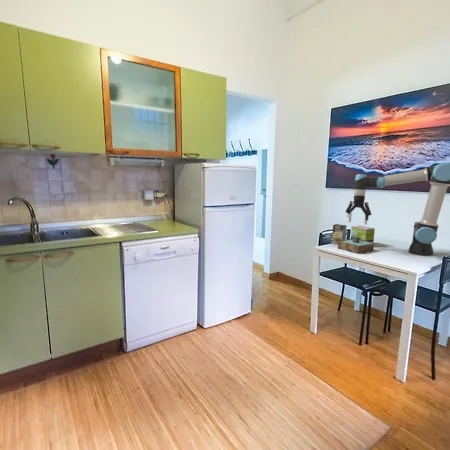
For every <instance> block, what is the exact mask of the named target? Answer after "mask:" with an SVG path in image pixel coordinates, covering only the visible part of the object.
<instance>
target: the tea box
mask: <svg viewBox="0 0 450 450" xmlns="http://www.w3.org/2000/svg"><path fill="white" fill-rule="evenodd" d="M375 230H376V228H374V227H369V226H365V225H353V226H351V229H350V231H351V232H350V239H353V237H360V240H363V241H367V242H372V243H374V240H375Z"/></svg>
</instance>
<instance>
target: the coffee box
mask: <svg viewBox="0 0 450 450" xmlns="http://www.w3.org/2000/svg"><path fill="white" fill-rule="evenodd" d="M331 234H332V238H331V244H335V245H338V241H340V240H346V238H347V236H346V235H347V224H346V225H345V224H338V223H336V224H332V233H331Z"/></svg>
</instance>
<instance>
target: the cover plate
mask: <svg viewBox="0 0 450 450" xmlns="http://www.w3.org/2000/svg"><path fill="white" fill-rule="evenodd" d="M345 240H346V241H342V242H346V243H350V244H355V245H359V247H360V246H365V245H371V244H372V243H369V242H364V241H359V240H360V237H353V240H347V239H345Z"/></svg>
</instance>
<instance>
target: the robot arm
mask: <svg viewBox="0 0 450 450" xmlns="http://www.w3.org/2000/svg"><path fill="white" fill-rule="evenodd" d="M421 181H426V182H429V184H430V189H429V192H428V196H427V200H426V203H425V206H424V210H423V214H422V217H421V220H419V221H415V222H414V224H413V234H412V242H411V243H410V246H409V248H408V253H410V254H413V255H418V256H419V255H420V256H427V257H428V256H433V255H434V248H433V244H432V243H434V241H436V240H437V238H438V234H437V233H438V229H439V226H440V225H439V224H438V219H439V217H440V216H439V215H440V214H441V210H442V206H443V203H444V200H445V197H446V193H447V190H448V188H449V187H450V163H449V162H440V163H438V164H436V165H433V166H428V167H424V169H419V170H411V171H407V172H400V173H395V174H388V175H382V176H368V175H367V174H364V173H363V174H362V173H361V174H359V173H357V174H356V175H355V179H354V190H353V191H354V192H353V193H354V195H353V200H349V204H348V206H347V208H346V209H345V213H347V222H348V223H351V222H352V212H354V210H355V209H356V208H357V209H358V208H359V209H361V211H362V212H363V214H364V215H363V217H364V218H363V226H365V225H366V226H367V225H368V221H369V216H372V212H371V209H370V205H369V202H367V201H366V189H367V188H376V189H378V188H380V189H381V188H384V187H386V186H392V185H400V184H402V185H403V184H407V183H415V182H421Z"/></svg>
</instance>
